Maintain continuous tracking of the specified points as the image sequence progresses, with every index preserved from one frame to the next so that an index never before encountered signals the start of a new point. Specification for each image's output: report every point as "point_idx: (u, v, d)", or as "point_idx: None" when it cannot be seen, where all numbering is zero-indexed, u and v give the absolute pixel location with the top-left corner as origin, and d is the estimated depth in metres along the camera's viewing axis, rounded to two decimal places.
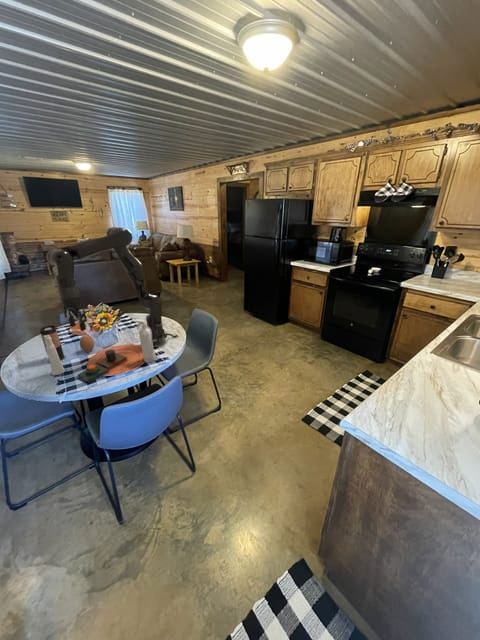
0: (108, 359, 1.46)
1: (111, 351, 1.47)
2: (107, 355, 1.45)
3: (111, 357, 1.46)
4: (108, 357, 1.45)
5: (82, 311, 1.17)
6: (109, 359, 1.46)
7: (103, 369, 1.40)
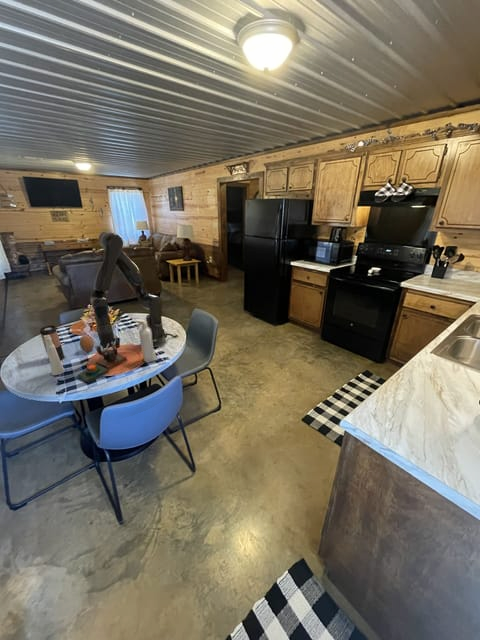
0: (108, 359, 1.46)
1: (111, 351, 1.47)
2: (107, 355, 1.45)
3: (111, 357, 1.46)
4: (108, 357, 1.45)
5: (97, 348, 1.39)
6: (109, 359, 1.46)
7: (103, 369, 1.40)
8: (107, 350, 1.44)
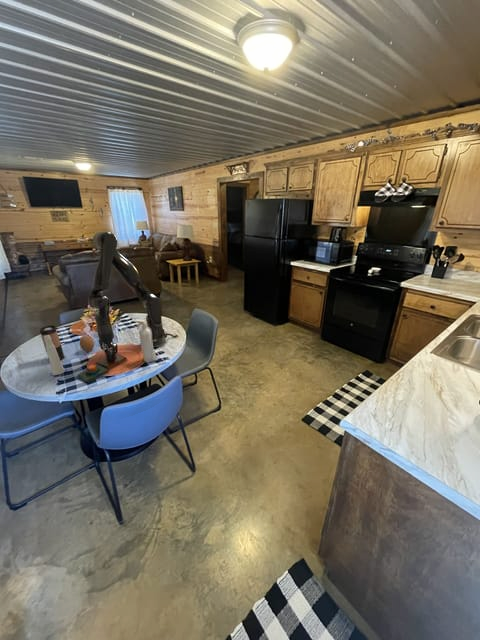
0: None
1: None
2: None
3: None
4: None
5: (115, 346, 1.42)
6: None
7: (103, 369, 1.40)
8: None
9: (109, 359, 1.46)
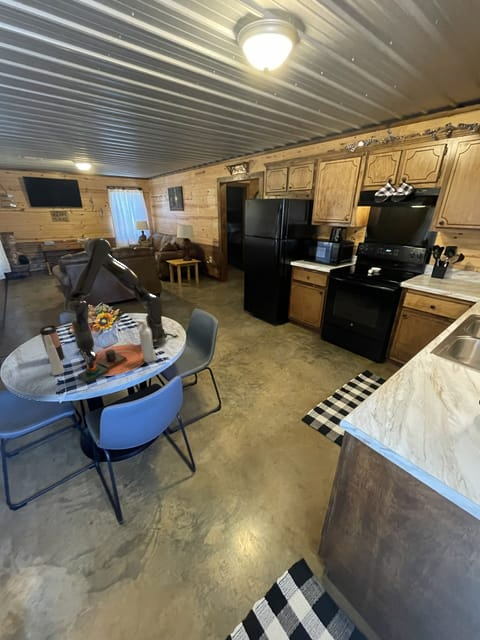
0: (115, 357, 1.48)
1: (110, 350, 1.48)
2: (114, 353, 1.47)
3: None
4: (114, 355, 1.48)
5: (95, 356, 1.31)
6: (115, 356, 1.49)
7: (103, 369, 1.40)
8: None
9: (109, 359, 1.46)
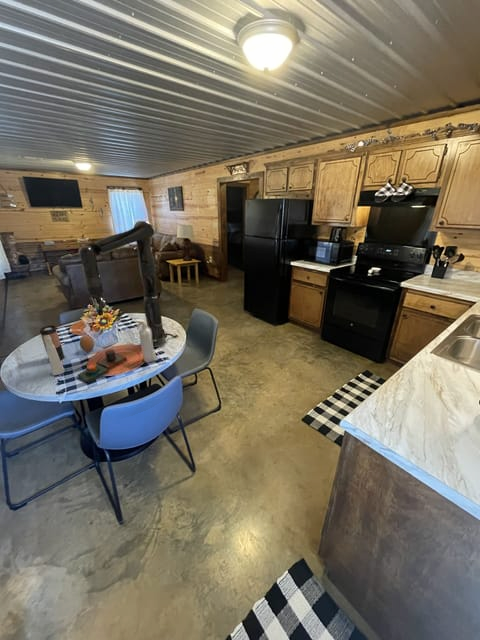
0: (115, 357, 1.48)
1: (110, 350, 1.48)
2: (114, 353, 1.47)
3: None
4: (114, 355, 1.48)
5: (104, 302, 1.40)
6: (115, 356, 1.49)
7: (103, 369, 1.40)
8: None
9: (109, 359, 1.46)
